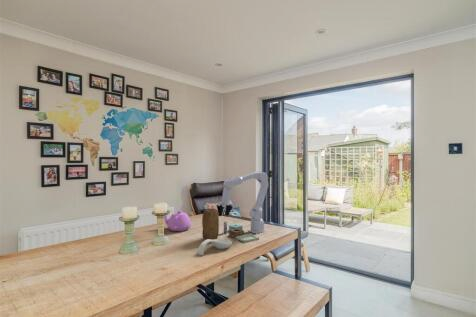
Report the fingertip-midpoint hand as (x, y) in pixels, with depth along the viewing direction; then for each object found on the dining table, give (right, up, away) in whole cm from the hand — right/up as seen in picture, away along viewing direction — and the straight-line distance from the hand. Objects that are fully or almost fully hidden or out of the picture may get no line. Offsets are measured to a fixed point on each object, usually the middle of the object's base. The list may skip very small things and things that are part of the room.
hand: (223, 215), depth 188 cm
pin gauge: (+1, -13, +2) cm, 13 cm away
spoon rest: (-3, -14, -31) cm, 34 cm away
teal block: (+9, -13, +8) cm, 18 cm away
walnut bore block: (+9, -13, -4) cm, 17 cm away
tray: (+16, -13, -10) cm, 24 cm away
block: (-8, -13, -14) cm, 21 cm away
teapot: (-36, -12, +10) cm, 39 cm away
